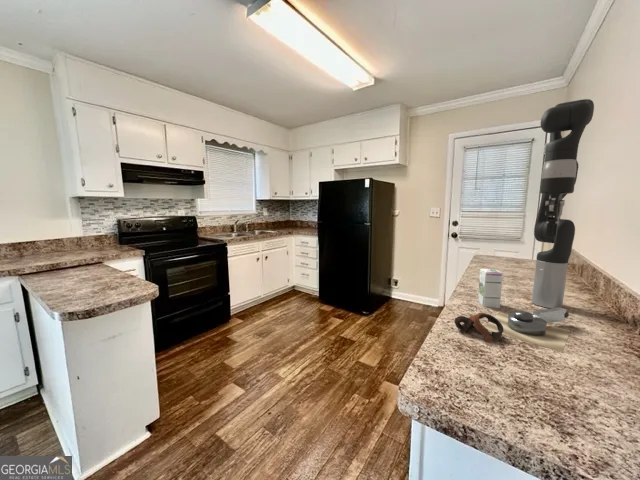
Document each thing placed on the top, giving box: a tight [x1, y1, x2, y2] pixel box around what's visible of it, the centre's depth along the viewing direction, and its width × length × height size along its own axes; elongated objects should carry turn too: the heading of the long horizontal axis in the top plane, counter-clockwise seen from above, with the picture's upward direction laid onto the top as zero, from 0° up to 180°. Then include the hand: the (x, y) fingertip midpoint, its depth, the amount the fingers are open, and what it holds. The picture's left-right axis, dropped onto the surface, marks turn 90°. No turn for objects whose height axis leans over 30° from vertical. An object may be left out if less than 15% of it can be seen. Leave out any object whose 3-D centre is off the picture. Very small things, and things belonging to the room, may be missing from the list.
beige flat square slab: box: [483, 312, 571, 353], centre depth 80 cm, size 18×18×2 cm
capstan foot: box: [507, 307, 570, 336], centre depth 81 cm, size 21×9×5 cm, turn 106°
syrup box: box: [477, 268, 504, 309], centre depth 100 cm, size 6×6×14 cm
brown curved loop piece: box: [454, 312, 504, 343], centre depth 77 cm, size 12×10×8 cm
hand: (551, 236), depth 81 cm, fingers closed
